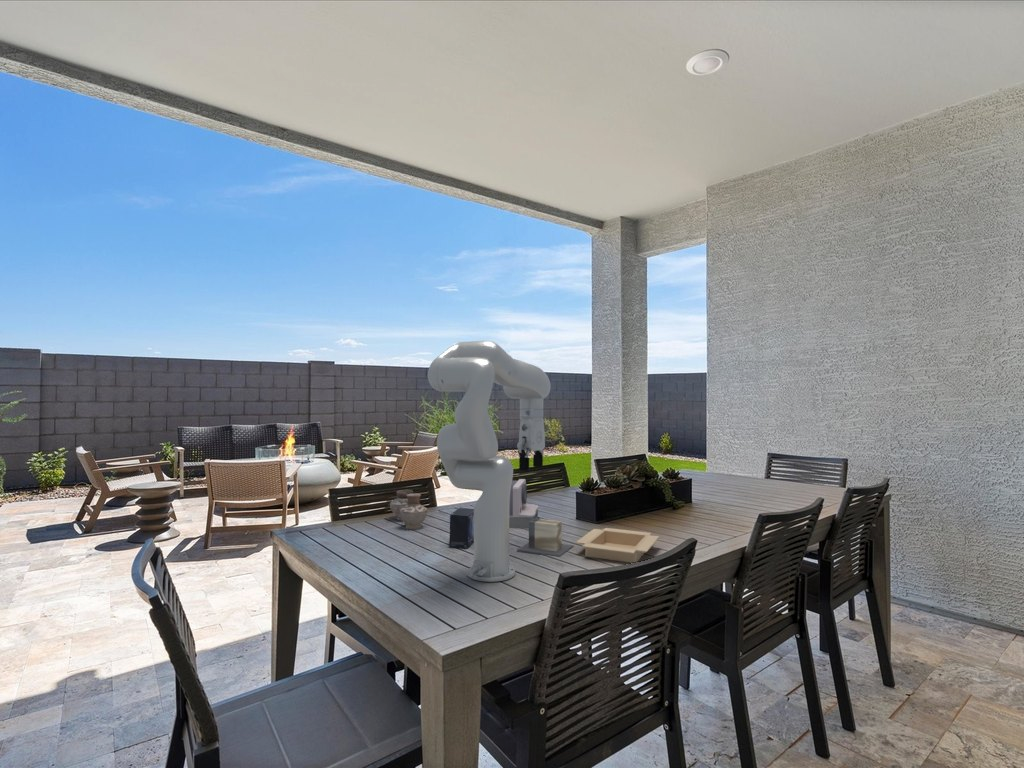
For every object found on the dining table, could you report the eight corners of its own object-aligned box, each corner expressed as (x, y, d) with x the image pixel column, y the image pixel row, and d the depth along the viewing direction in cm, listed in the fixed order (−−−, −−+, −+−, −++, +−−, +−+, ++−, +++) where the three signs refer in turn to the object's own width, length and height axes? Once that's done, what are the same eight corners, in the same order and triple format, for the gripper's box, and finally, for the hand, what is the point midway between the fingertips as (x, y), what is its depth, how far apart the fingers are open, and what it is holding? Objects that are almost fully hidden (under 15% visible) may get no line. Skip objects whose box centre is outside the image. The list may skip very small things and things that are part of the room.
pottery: (401, 532, 187) (401, 498, 187) (387, 517, 209) (387, 486, 210) (433, 529, 191) (433, 495, 191) (415, 515, 214) (415, 484, 214)
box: (555, 551, 162) (555, 524, 162) (528, 547, 166) (528, 521, 166) (561, 547, 166) (561, 521, 167) (535, 543, 170) (535, 518, 170)
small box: (468, 549, 166) (468, 515, 167) (448, 548, 168) (448, 514, 168) (477, 540, 177) (477, 508, 177) (458, 539, 178) (458, 507, 178)
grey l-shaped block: (531, 531, 190) (531, 488, 190) (476, 526, 196) (476, 485, 196) (545, 518, 210) (545, 479, 210) (495, 514, 216) (495, 477, 216)
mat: (559, 557, 158) (559, 555, 158) (516, 551, 164) (516, 549, 164) (573, 547, 168) (573, 545, 168) (532, 541, 175) (532, 540, 175)
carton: (644, 568, 148) (644, 554, 148) (572, 558, 157) (572, 544, 157) (660, 546, 169) (660, 534, 169) (596, 538, 179) (596, 526, 179)
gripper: (529, 415, 161) (529, 472, 161) (553, 414, 177) (553, 466, 176) (508, 415, 165) (507, 470, 165) (533, 414, 180) (532, 465, 180)
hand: (531, 468), depth 170 cm, fingers open, 9 cm apart
